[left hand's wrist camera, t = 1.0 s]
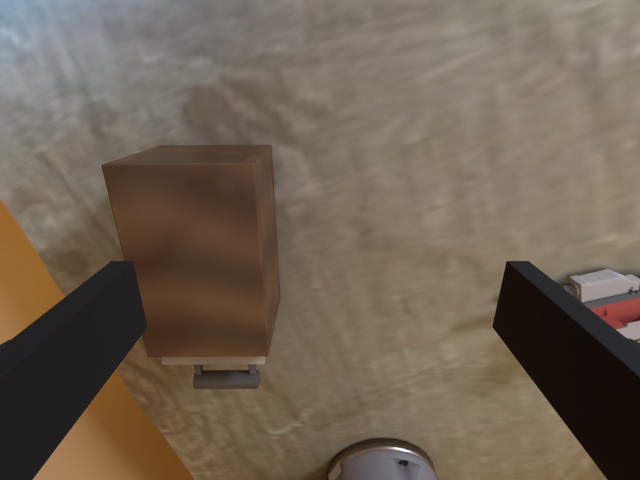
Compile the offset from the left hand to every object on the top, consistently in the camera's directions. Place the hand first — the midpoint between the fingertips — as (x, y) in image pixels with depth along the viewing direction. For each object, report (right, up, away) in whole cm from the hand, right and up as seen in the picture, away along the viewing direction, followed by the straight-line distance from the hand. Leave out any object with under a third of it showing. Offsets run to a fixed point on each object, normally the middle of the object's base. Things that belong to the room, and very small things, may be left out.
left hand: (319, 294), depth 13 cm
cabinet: (-10, +3, +24) cm, 26 cm away
